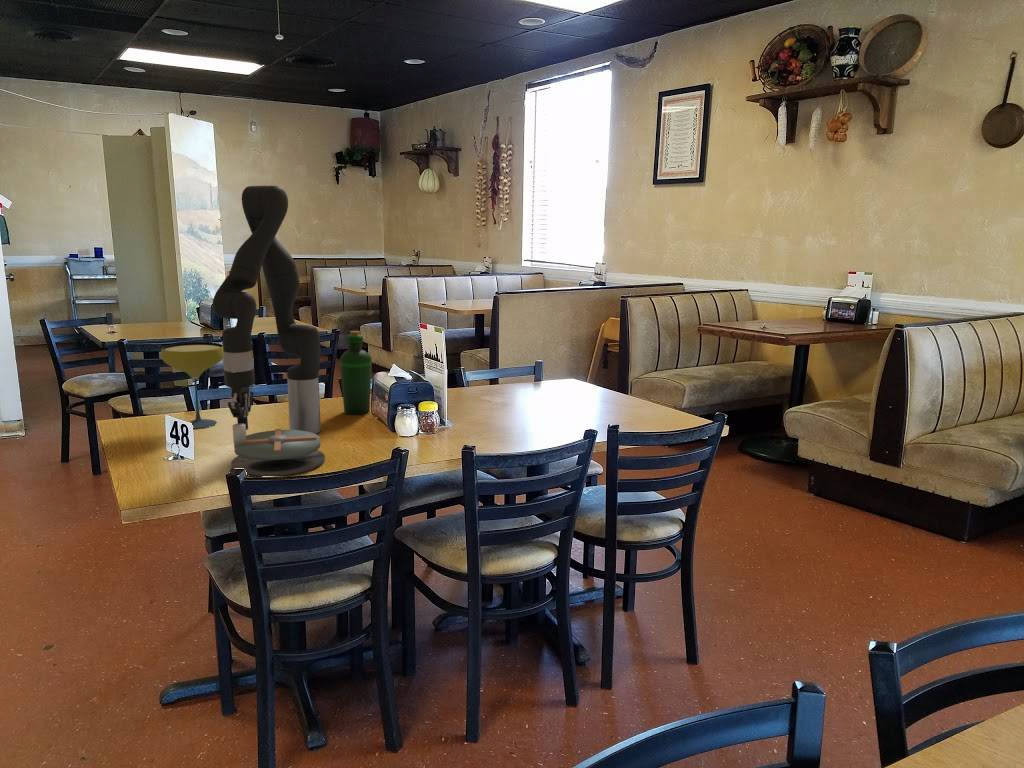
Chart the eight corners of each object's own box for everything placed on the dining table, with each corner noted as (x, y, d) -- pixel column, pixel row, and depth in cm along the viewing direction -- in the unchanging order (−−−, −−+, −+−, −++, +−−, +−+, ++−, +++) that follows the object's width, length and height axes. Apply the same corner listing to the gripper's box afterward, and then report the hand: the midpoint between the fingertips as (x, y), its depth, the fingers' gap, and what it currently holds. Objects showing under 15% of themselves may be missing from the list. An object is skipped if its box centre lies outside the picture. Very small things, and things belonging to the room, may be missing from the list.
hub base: (240, 450, 207) (239, 437, 206) (327, 448, 211) (327, 434, 210) (222, 479, 184) (221, 464, 183) (321, 475, 188) (320, 460, 187)
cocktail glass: (239, 424, 234) (234, 347, 228) (183, 435, 220) (176, 353, 215) (212, 414, 245) (207, 340, 240) (157, 424, 232) (150, 346, 227)
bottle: (370, 407, 258) (368, 328, 252) (374, 415, 249) (373, 333, 243) (339, 409, 255) (337, 329, 249) (342, 417, 245) (340, 334, 239)
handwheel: (318, 433, 210) (318, 410, 209) (322, 456, 189) (321, 431, 188) (236, 438, 204) (235, 415, 202) (231, 463, 183) (229, 437, 182)
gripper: (233, 362, 199) (237, 423, 203) (214, 372, 186) (219, 437, 190) (261, 362, 199) (265, 423, 203) (244, 373, 186) (248, 438, 190)
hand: (243, 430), depth 197 cm, fingers closed
